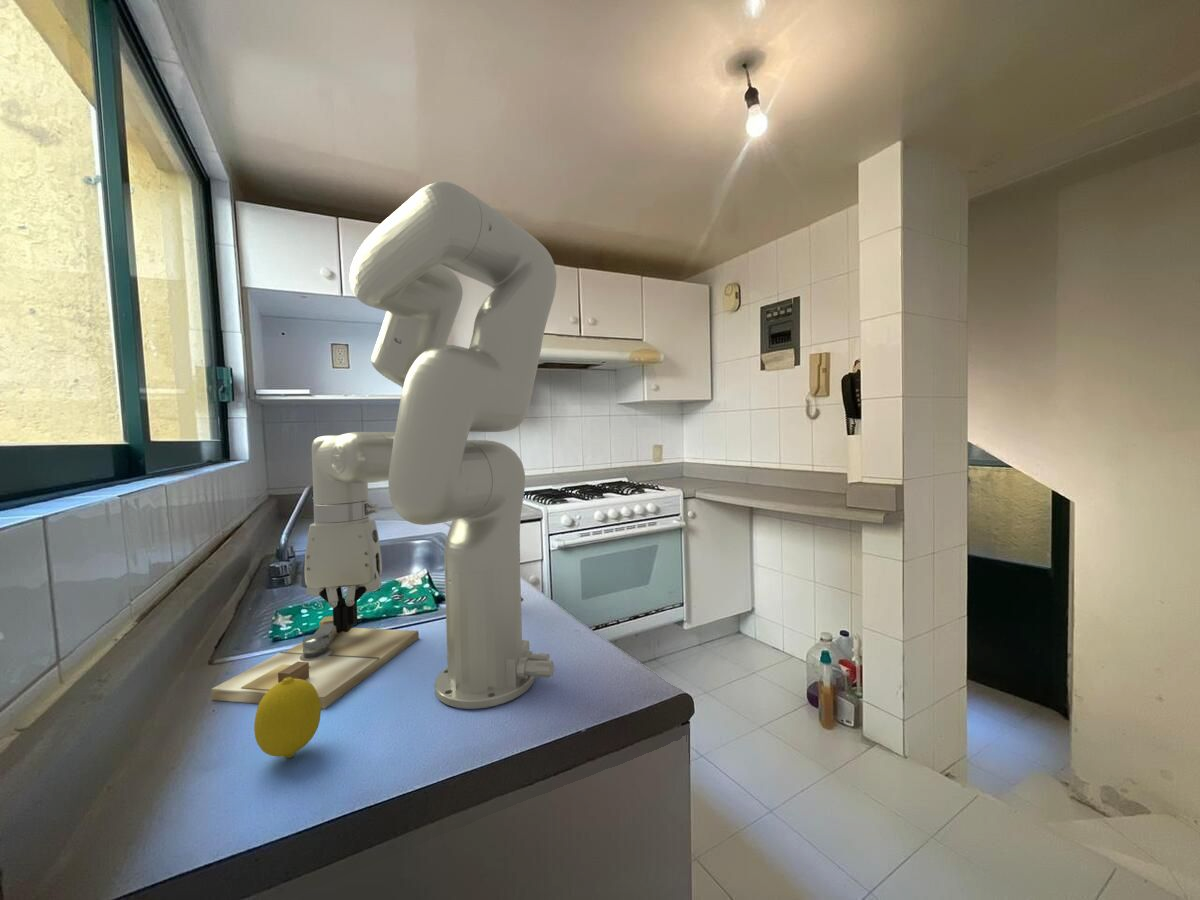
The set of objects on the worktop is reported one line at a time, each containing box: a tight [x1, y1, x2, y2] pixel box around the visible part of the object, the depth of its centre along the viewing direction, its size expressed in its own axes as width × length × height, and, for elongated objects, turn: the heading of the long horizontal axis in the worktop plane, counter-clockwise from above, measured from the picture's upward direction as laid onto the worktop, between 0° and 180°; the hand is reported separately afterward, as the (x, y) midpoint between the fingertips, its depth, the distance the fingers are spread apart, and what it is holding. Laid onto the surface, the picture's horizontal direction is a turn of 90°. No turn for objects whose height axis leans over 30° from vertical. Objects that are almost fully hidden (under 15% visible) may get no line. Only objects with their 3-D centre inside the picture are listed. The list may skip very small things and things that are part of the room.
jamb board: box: [211, 627, 420, 710], centre depth 65 cm, size 16×20×3 cm
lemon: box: [253, 677, 322, 759], centre depth 46 cm, size 6×6×8 cm
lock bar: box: [302, 615, 337, 657], centre depth 70 cm, size 11×3×2 cm, turn 16°
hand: (345, 628), depth 72 cm, fingers closed
